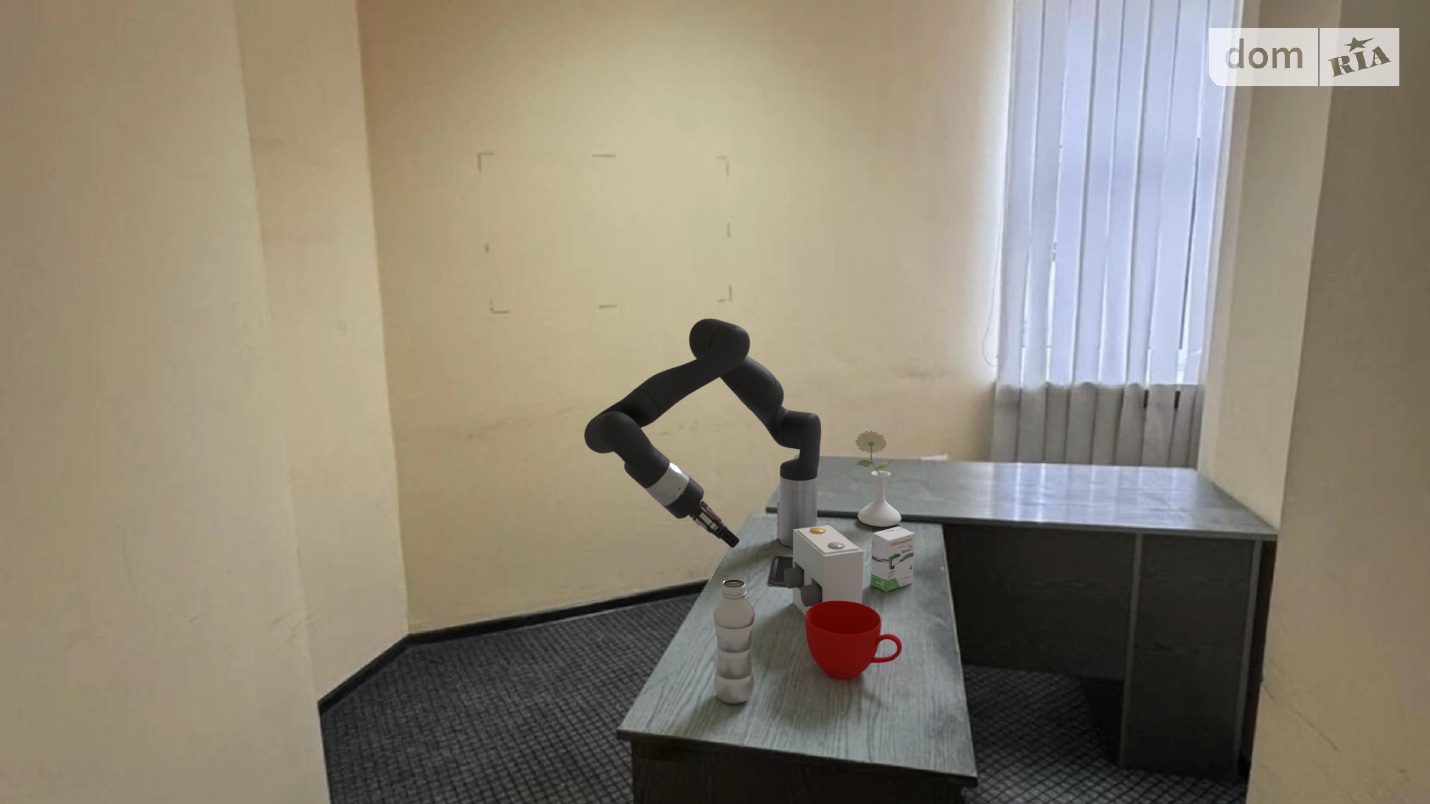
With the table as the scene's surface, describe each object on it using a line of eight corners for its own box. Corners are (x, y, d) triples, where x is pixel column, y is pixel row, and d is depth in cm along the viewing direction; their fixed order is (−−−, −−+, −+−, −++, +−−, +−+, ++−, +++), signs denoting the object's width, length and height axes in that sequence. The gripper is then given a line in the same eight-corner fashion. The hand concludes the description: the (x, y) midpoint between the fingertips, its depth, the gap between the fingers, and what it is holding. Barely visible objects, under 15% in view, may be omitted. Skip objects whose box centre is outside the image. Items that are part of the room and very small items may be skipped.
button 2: (808, 610, 146) (809, 590, 145) (800, 601, 150) (800, 582, 149) (828, 607, 147) (828, 587, 146) (819, 598, 151) (819, 579, 150)
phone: (768, 581, 169) (774, 555, 183) (768, 586, 169) (774, 560, 184) (804, 584, 168) (808, 557, 182) (804, 589, 168) (808, 561, 182)
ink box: (885, 592, 165) (887, 540, 162) (869, 584, 169) (870, 533, 167) (914, 583, 169) (916, 531, 167) (897, 575, 174) (898, 525, 171)
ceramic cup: (886, 706, 124) (888, 648, 122) (791, 676, 133) (792, 622, 131) (912, 669, 135) (914, 616, 133) (822, 644, 143) (823, 594, 142)
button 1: (791, 591, 154) (791, 573, 153) (783, 583, 158) (783, 565, 157) (809, 589, 155) (810, 570, 154) (801, 581, 159) (802, 563, 158)
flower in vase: (907, 520, 208) (910, 430, 204) (892, 533, 199) (895, 439, 194) (861, 512, 215) (863, 424, 210) (845, 524, 206) (847, 433, 201)
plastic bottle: (712, 688, 130) (710, 576, 126) (752, 685, 130) (752, 574, 126) (715, 710, 123) (714, 593, 119) (757, 707, 124) (757, 591, 120)
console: (823, 635, 147) (824, 553, 143) (792, 602, 161) (793, 527, 157) (861, 629, 149) (863, 548, 146) (827, 597, 163) (829, 522, 160)
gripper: (696, 483, 139) (760, 540, 145) (678, 464, 151) (737, 518, 157) (668, 514, 138) (733, 570, 144) (652, 493, 151) (712, 545, 157)
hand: (735, 543), depth 151 cm, fingers closed
